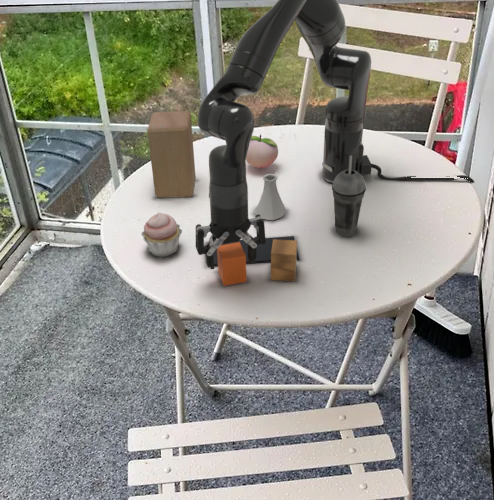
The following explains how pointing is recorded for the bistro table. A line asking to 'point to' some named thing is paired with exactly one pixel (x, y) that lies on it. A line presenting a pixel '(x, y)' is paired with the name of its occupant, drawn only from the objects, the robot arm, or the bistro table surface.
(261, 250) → the mat
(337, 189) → the beverage cup
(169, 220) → the cupcake
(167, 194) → the wooden block
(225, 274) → the orange block
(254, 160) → the decorative fruit
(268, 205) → the flask
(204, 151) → the bistro table surface
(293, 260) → the oak block
